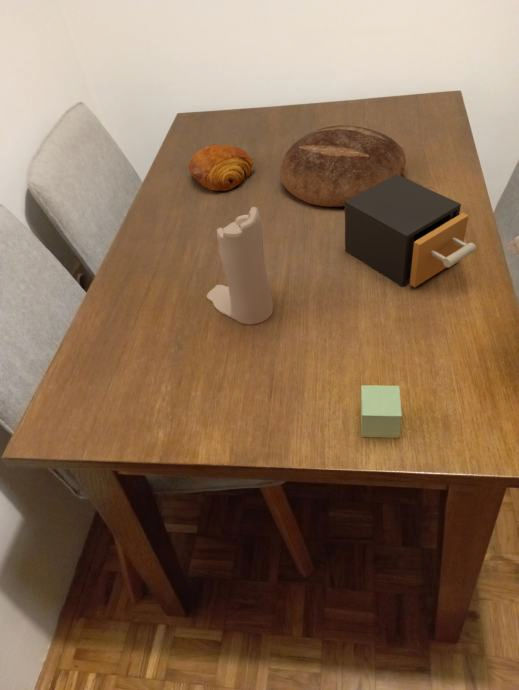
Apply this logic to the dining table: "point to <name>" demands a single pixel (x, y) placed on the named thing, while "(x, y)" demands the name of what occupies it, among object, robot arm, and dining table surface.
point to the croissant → (220, 166)
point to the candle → (243, 271)
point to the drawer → (437, 248)
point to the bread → (339, 164)
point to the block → (380, 411)
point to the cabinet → (392, 223)
